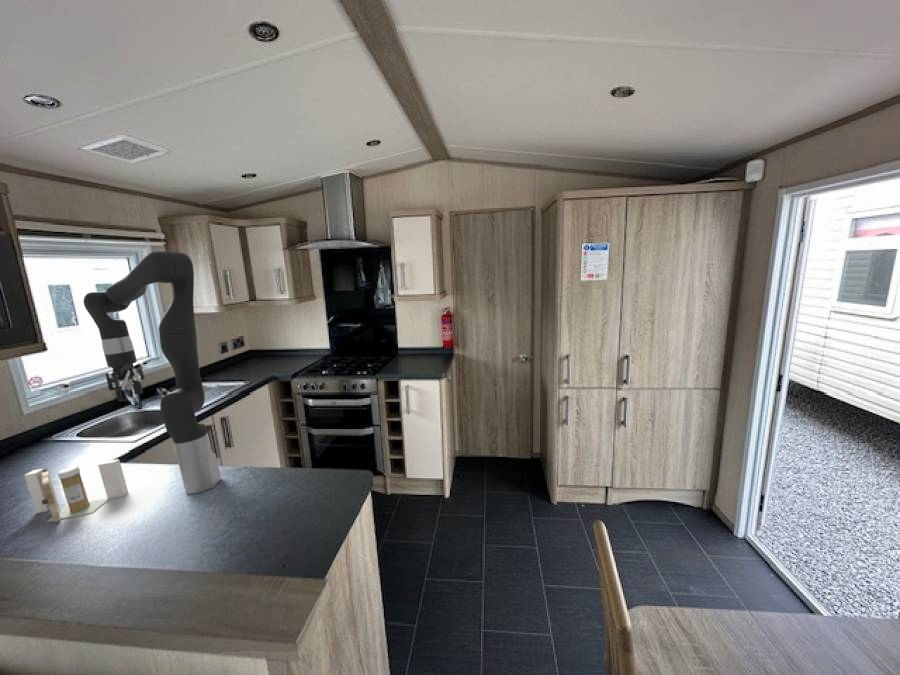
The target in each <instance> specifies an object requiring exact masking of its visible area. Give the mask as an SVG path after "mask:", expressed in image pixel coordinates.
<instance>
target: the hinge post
mask: <svg viewBox="0 0 900 675" xmlns="http://www.w3.org/2000/svg"><path fill="white" fill-rule="evenodd" d="M44 469H45V468H39V469H33V470H31V471H29V472H27V473H25V474H24V478H25V482H26V484H27V488H28V490H29V494H30V496H31V497H30V498H31V499H32V503H33V507H34V510H35V512H36V514H39V513H45V512H48V511H51V510H50V507H49V504H48V503H47V504H44V505H43V504H42V501H41V500H44V499H47V497H46V494H45V491H44V488H43V481H42V473H43V471H42V470H44Z"/></svg>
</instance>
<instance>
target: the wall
mask: <svg viewBox="0 0 900 675" xmlns="http://www.w3.org/2000/svg"><path fill="white" fill-rule="evenodd" d="M97 467H98V471H99V473H100V477H101V480H102V484H103V487H104V490H105V494H106V498H111V499H116V498H121V497H125V496H126V495H128V494H129V490H128V485H127V483H126V479H125V475H124V471H123V469H122V468H123V467H122V465H121V462H120V459H118V458H117V459H113V460H106V461H102V462H100V463H98V464H97Z"/></svg>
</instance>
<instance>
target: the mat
mask: <svg viewBox="0 0 900 675" xmlns="http://www.w3.org/2000/svg"><path fill="white" fill-rule="evenodd" d="M111 499H112V498H107V497H106V498H102V499H97V500H90V501H88V502H89V503H90V505H89V506H88V507H87V508H86V509H84V510H82V511H79V512H75V513H71V512H70V508H69V505H67V506H65V507H64V508H62V510H59V513H60V520H64V519H70V518H74V517H80V516H85V515H91V514H94V513H95V512H97V510H99V509H100V508H101V507H102V506H103V505H105V504H106V503H107V502H108V501H110V500H111ZM49 522H54V519H53V516H52V517H50V518H49V519H47V520H46V523H49Z"/></svg>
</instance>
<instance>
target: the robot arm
mask: <svg viewBox="0 0 900 675" xmlns="http://www.w3.org/2000/svg"><path fill="white" fill-rule="evenodd" d="M194 280H195V271H194V265H193V262H192V259H191V258H190V256H189V255H187V254H186V253H183V252H174V251H162V250H160V251H158V250H157V251H151V252H149V253H147V254H146V255H145V256H144V257H142V259H141V260H140V261H139V262H137V264H136V265H135V266H134V267H133V268H132V269H131V270H130V271H129V272H128V273H127V274H125V276H123V277H122V278H120V279H119V280H117V281H115V282H114V283H112V284H110V285H109V286H108V287H107V288H106V290H104V291H91V292H88V293H86V294H85V296H84V297H83V305H84V308H85V309H86V311H87V313H88V314H89V315H90V317H91V319H92V320H93V322H94V323H95V325H96V327H97V328H98V332H99V336H100V338H101V346H102V350H103V354H104V358H105V362H106V366H107V367H108V368H112V371H109V372H106V373H105V377H106V383H107V388H108V390H109V391H110V392H111V391H112V392H115V393H116V397H117V398H116V399H117V401H118V402H119V403H121V402H126V401H128V397H127V394H126V390H125V388H126V387H125V386H126V384H128V381H129V382H131V384H132V388H133V391H134V392H133V393H134V394H135V395H141V394H143V393H144V391H143V387H142V382H143V380H145V375H144V371H143V368H142V366H141V363H136V362H137V361H138V360H137V356H136V353H135V349H134V348H135V347H134V344H133V342H132V338H131V337H130V333H129V329H128V324H127V323H126V321H125V320H123V319H119V318H112V317H111V316H109V315H108V313H118V312H119V313H120V312H123V311H125V310H127V309H128V308H129V306H130V305H131V304H132V302H134V301H136V300H138V299H139V298H141V297H142V296H143V295H144V294H145V293H146V292H147V289H148V287H147V286H148V285H152V284H155V283H157V284H158V283H161V284H172V298H171V302H170V304H169V306H168V308H166V311H165V313H164V314H163V317H162V318H161V320H160V323H159V327H158V333H159V334H158V336H159V344H160V350H161V351H162V354H163V356H164V357H165V359H166V360H167V361H168V363H169V365H170V366H171V368H172V370H173V373H174V376H175V377H174V379H175V380H174V381H175V389H174V390H173V391H171V392H168V393H167V394H166V395H164V396H163V397H161V398H162V399H161V400H160V402H159V403H160V404H159V405H160V407H159V409H160V414H161V417H162V420H163V423H164V427H165V429H166V432H167V434H168V435H169V436H170V438H171V439H172V440H171V441H172V443H173V448H174V450H175V451H174V452H175V456H176V459H177V463H178V464H177V465H178V467H179V471H180V474H181V478H182V482H183V488H184V490H185V491H184V492H185V493H186V494H187V495H194V494H195V495H196V494H199V493H202V492H206V491H208V490H210V489H214V488H215V487H216V486H217V484H218V483H219V482H220V481H221V479H222V476H221V472H220V468H219V467H220V466H219V463H218V459H217V454H216V453H215V452H213V450H212V446H211V442H210V436H209V433H208V428H207V426H206V424H204V423H201V422H200V423H199V422H198V421H197V417H196V413H198V412H199V411H200V410H201V409H202V408H203V407H204V404H205V400H206V397H205V392H204V387H203V382H202V377H201V372H200V363H199V354H198V339H197V329H196V323H195V322H196V319H195V309H194V308H195V306H194V293H195V292H194V290H195V289H194V288H195V286H194V284H195V282H194Z"/></svg>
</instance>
